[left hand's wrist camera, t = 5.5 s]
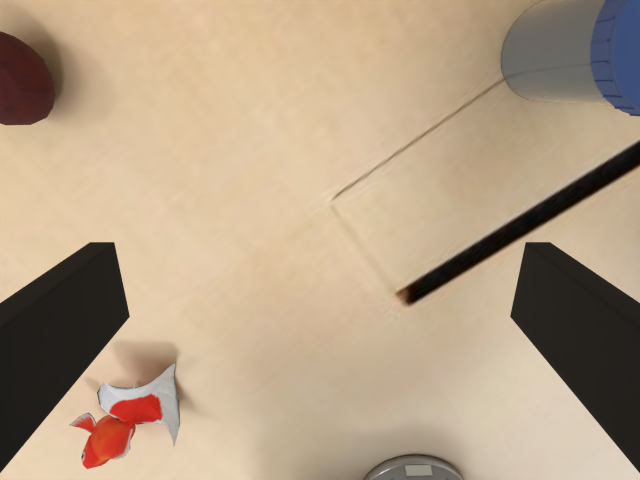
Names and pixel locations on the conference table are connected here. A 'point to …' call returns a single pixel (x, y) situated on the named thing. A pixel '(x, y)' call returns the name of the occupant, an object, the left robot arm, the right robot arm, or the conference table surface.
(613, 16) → the lid
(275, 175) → the conference table surface
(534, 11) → the jar
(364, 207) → the conference table surface
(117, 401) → the fish
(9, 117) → the dark maroon ball
